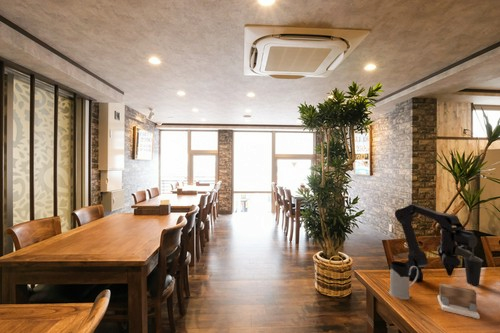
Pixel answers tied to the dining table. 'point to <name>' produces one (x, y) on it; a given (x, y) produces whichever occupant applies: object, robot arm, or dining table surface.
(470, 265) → the drinking cup
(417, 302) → the dining table surface
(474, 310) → the side panel
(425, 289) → the dining table surface
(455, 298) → the door
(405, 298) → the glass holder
